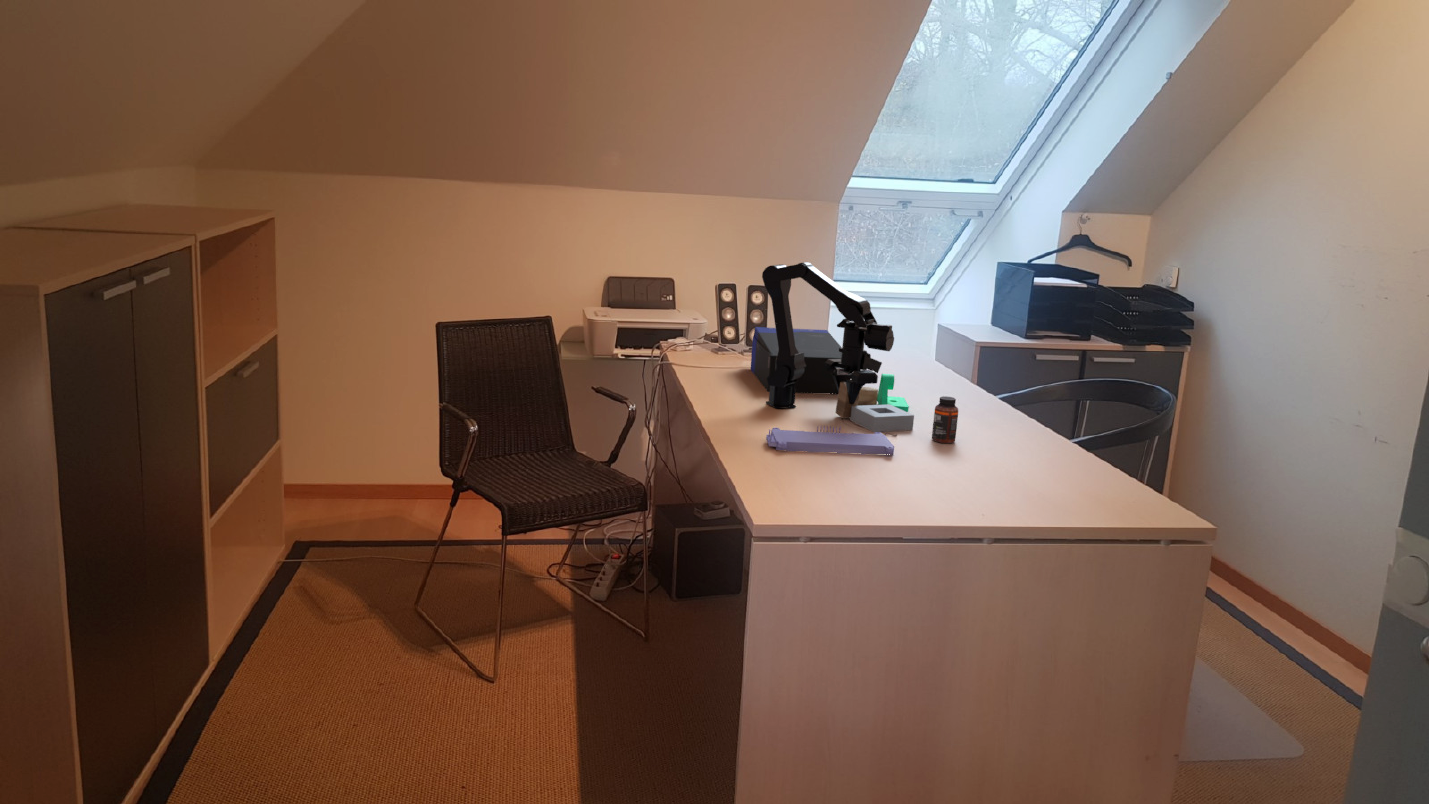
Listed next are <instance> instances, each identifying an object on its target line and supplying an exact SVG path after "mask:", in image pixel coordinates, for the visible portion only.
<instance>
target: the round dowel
mask: <svg viewBox="0 0 1429 804" xmlns="http://www.w3.org/2000/svg"><path fill="white" fill-rule="evenodd" d="M878 390H879V388H878V389H877V388H874V387H869V386H863V387H862V388H861V390H860V393H859V399H858V405H857V406H862V405H878V402H877V396H878Z"/></svg>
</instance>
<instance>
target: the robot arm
mask: <svg viewBox="0 0 1429 804" xmlns="http://www.w3.org/2000/svg"><path fill="white" fill-rule="evenodd" d="M761 277H762V281H763V285H764V289H765V291H766V292H767V294H768V296H769V297H770V299H771V306H772V311H773V319H774V328H776V334H777V341H778V354H777V358H776V371H775V372H773V373H772V374H771V375H770V376H769V377H767V381H768V385H770V392H768V393H769V394H768V400H767V401H765V404H767V405H768V406H770V407H773V408H775V409H791V408H793V409H795V408H796V407H797V406H796V405H795V403H796V394H797V393H796V390H795V385H794V383H797V380H798V378H800V377H801V376H802V375H803V373H804V367H806V364H805V361H804V353H803V352H802V353H799V352H798V350H797V349H796V346H795V340H794V333H793V329H794V327H793V321H792V313H791V305H790V298H789V297H790V296H789V294H790V291H791V286H792V280H793V279H799V278H800V279H802V280H803V281H804V282H806V283H807V284H809V285H810V286H811V287H813V288H814V289H815V290H817V291H818V292H819V293H820V294H821V295H823V296H824V297H826V298H827V299H828V300H830V301H831V302H832V303H833V304H834V305H835V307H836V309H837V310H838V312H839V313H840V314H841V315H842V316H843V317H844V318H843V319H842V320H841V321H839V322H838V323H837V324H836V327H837V328H840V329H841V328H843V338H842V346H841V347H842V348H839V352H842V356H841V359H828V360H827V361H826V362H825V368H824V369H826V370H828V371H831V370H832V369H834V372H833V373H831V375H832V377H833V379H834V381H835V384H836V386H837V389H838V392H839V388H840V382H846V386H847V392H848V398H849V403H850V404H854V403H855V400H856V398H857V396H858V394H859V392H860V390H861V388H862V387H865V385H869V384H871V385H872V384H873V385H875V384H878V378H879V376H878V373H879V371H880V369H881V367H882V364H883V362H882V361H880V360H877V359H874V358H872V357H871V353H869V352H868V351H867V350H865V349H864V348H865V346H867V348H868V349H871V350H878V351H885V352H890V351H891V350H892V348H893V346H894V342H895V337H894V336H895V335H894V330H893V325H892V324H879V323H878V322H877V320H876V318H875V316H874V314H873V312H872V311H871V310H872V308H871V303H870V302H869V300H867V299H865V298H864V297H862V296H859V295H858V294H855V293H853V292H850V291H847V290H845V289H844V288H842V287H841V286H840V285H839V284H837V283H836V282H835V281H834V280H832V279H831V278H830V277H828V276H826V275H825V274H824V273H823V272H821V271H820V270H819V269H818V268H816V267H815V266H814V265H813V264H812V263H811V262H808V261H803V262H799V263H797V264H792V265H788V266H787V265H785V264H773V265H769V266H767V267H765V268H764V270H763V271H762V273H761Z"/></svg>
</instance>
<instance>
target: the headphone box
mask: <svg viewBox="0 0 1429 804" xmlns="http://www.w3.org/2000/svg"><path fill="white" fill-rule="evenodd" d="M793 333H794V340H795V346H796V349H797V350H798V352H799V353H802V352H803V353H804V361H805V364H806V367H804V373H803V375H802V376H801V377H800V378H798V380H797V383H794V385H795V390H796V394H813V393H830V394H829V395H838V394H839V392H838V389H837V386H836V384H835V381H834V379H833V377H832V375H831V373H833V372H834V369H832V370H831V371H828V370H826V369H824V368H825V362H826V361H827V360H828V359H841V356H842V352H839V348H842V346H841V345H840V343H839V342H838V341H837V340H836V339H835V338H834V337H833V336H832V334H831V333H830V332H829V330H827V329H811V328H810V329H809V328H807V329H806V328H793ZM777 354H778V341H777V334H776V327H763V326H762V327H761V326H755V327H754V332H753V336H752V344H751V354H750V355H751V358H750V371H751V372H752V374H753V375H754V376H755V377H756V378H757V380H758V381H759V382H760V384H761V385H762V386H763V388H764V389H765V390H766V391H767V392H768V393H769V392H770V385H768V381H767V377H769V376H770V375H771V374H772V373H773V372H775V371H776V358H777ZM832 393H833V394H832Z"/></svg>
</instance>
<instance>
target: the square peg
mask: <svg viewBox="0 0 1429 804" xmlns="http://www.w3.org/2000/svg"><path fill="white" fill-rule="evenodd" d="M859 393H860V392H859ZM858 399H859V394H858V396H857V398H856V400H855V403H854V404H850V403H849V398H848V392H847V386H846V382H840V388H839V394H837V401H836V407H835V414H836V415H837V416H839V417H840V418H841V419H850V418H851V407H852V406H857V405H858Z"/></svg>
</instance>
